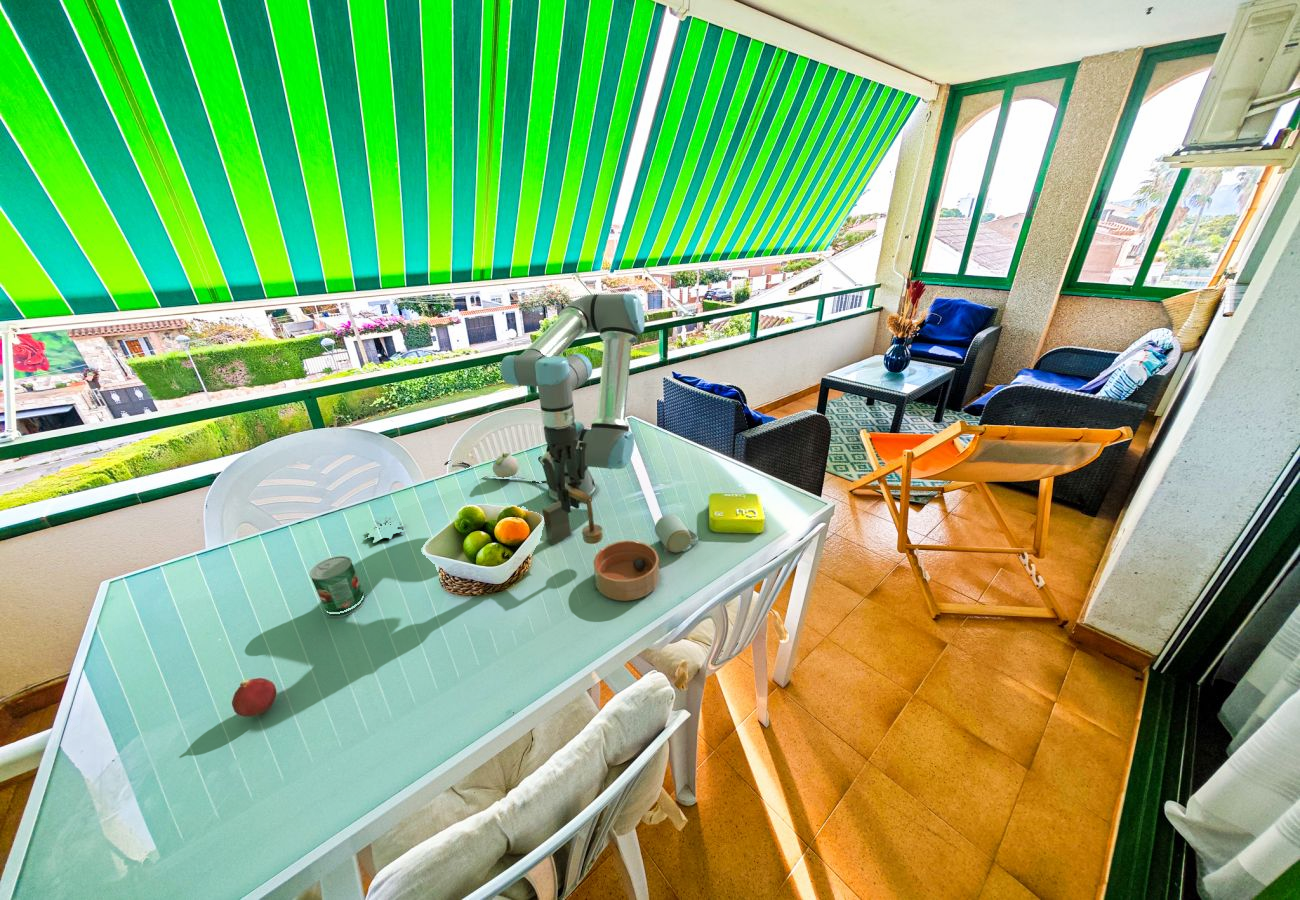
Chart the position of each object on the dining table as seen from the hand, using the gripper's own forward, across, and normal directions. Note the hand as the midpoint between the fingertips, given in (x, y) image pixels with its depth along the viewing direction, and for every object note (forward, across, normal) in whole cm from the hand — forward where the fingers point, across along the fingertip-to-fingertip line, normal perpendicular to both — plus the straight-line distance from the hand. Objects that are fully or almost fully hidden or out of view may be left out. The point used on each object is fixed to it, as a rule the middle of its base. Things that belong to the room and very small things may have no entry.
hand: (570, 508), depth 118 cm
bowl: (+12, 0, -20) cm, 23 cm away
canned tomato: (+12, -49, +24) cm, 55 cm away
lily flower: (+12, -32, +48) cm, 58 cm away
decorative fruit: (+13, +10, +50) cm, 52 cm away
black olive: (+10, +4, -20) cm, 23 cm away
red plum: (+12, -67, +5) cm, 69 cm away
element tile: (+13, +39, -25) cm, 48 cm away
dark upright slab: (+12, 0, +7) cm, 14 cm away
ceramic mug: (+12, +19, -20) cm, 30 cm away
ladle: (+5, 0, -1) cm, 6 cm away
